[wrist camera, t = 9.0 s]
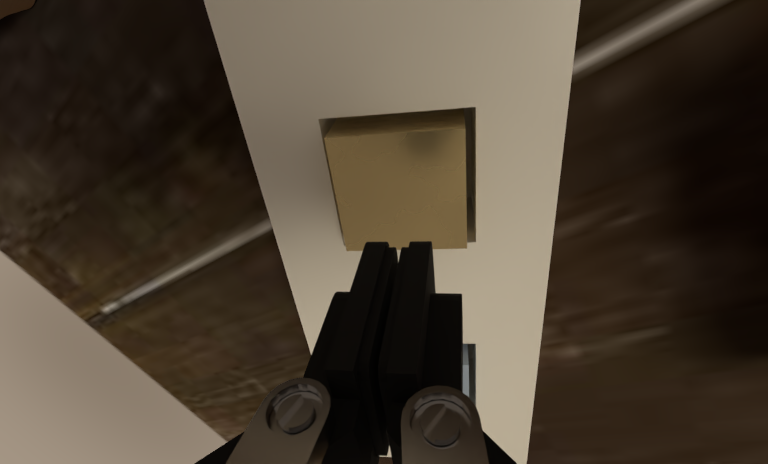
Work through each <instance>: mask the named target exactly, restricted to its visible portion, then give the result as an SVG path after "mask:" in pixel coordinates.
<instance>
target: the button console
mask: <svg viewBox="0 0 768 464" xmlns="http://www.w3.org/2000/svg"><path fill="white" fill-rule="evenodd" d="M580 1H581V0H204V3H205V7H206V10H207V13H208V17H209V20H210V23H211V26H212V30H213V33H214V36H215V40H216V43H217V46H218V49H219V53H220V56H221V59H222V63H223V66H224V69H225V73H226V76H227V79H228V82H229V86H230V89H231V92H232V96H233V99H234V102H235V105H236V109H237V112H238V115H239V119H240V122H241V125H242V129H243V132H244V135H245V138H246V142H247V145H248V148H249V152H250V155H251V158H252V161H253V165H254V168H255V171H256V175H257V178H258V181H259V185H260V188H261V191H262V194H263V198H264V201H265V204H266V208H267V211H268V214H269V217H270V221H271V224H272V227H273V231H274V234H275V237H276V241H277V244H278V247H279V250H280V254H281V257H282V260H283V264H284V267H285V270H286V274H287V277H288V280H289V283H290V287H291V290H292V293H293V297H294V300H295V303H296V306H297V310H298V313H299V316H300V320H301V323H302V326H303V330H304V333H305V336H306V339H307V343H308V346H309V349H310V353H311V355H312V352H313V350H314V347H315V344H316V341H317V339H318V336H319V333H320V330H321V328H322V325H323V322H324V319H325V317H326V314H327V311H328V308H329V306H330V303H331V300H332V298H333V296H334V294H335V293H336V292H350V289H351V286H352V283H353V280H354V277H355V274H356V271H357V267H358V264H359V261H360V258H361V255H362V252H363V251H346V246H345V241H344V235H343V230H342V225H341V220H340V215H339V210H338V205H337V200H336V195H335V190H334V185H333V180H332V175H331V170H330V165H329V160H328V155H327V150H326V145H325V140H324V138H325V136H326V135H327V133H328V131H329V130H330V128H331V127H332V125H333V124H334V122H335V121H336V119H337V118H339V117H352V116H365V115H378V114H391V113H404V112H417V111H430V110H444V109H457V108H464V118H465V128H466V200H467V249H433V262H434V277H435V291H436V293H455V294H462V312H463V344H468V361H469V398H470V399H471V401H472V402H473V403H474V404H475V406H476V408H477V411H478V413H479V416H480V421H481V426H482V430H483V431H484V432H485V433H486V434H487V435H488V436H489V437H490V438H491V439H492V440H493V441H494V442H495V443H496V444H497V445H498V446H499V447H500V448H501V449H502V450H504V451H505V452H506V453H507V454H508V455H509V456H510V457H511V458H512V459H513V460H514V461H515V462H516V463H517V464H526V463H527V455H528V446H529V437H530V429H531V420H532V412H533V403H534V395H535V386H536V378H537V369H538V361H539V352H540V343H541V335H542V326H543V318H544V309H545V301H546V292H547V284H548V275H549V266H550V258H551V249H552V241H553V232H554V224H555V215H556V207H557V198H558V190H559V181H560V172H561V164H562V155H563V147H564V138H565V130H566V121H567V113H568V104H569V95H570V87H571V78H572V70H573V61H574V53H575V44H576V36H577V27H578V19H579V10H580ZM400 252H401V250H397V256H398V262H399V257H400ZM380 456H381V455H380ZM382 457H392V455H391V451H390V446H389V450H388V454H387V456H382Z"/></svg>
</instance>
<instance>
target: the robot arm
mask: <svg viewBox="0 0 768 464" xmlns="http://www.w3.org/2000/svg"><path fill="white" fill-rule="evenodd" d="M389 446H390V451H391V455H392V460H393V464H517V463H516V462H515V461H514V460H513V459H512V458H511V457H510V456H509V455H508V454H507V453H506V452H505V451H504V450H502V449H501V448H500V447H499V446H498V445H497V444H496V443H495V442H494V441H493V440H492V439H491V438H490V437H489V436H488V435H487V434H486V433H485V432H484V431H483V430H482V426H481V421H480V416H479V413H478V411H477V408H476V406H475V404H474V403H473V402H472V401H471V399H470V398H469V397H468V396H467V395H465V394H464V393H463V312H462V294H455V293H436V291H435V277H434V262H433V248H432V242H431V241H410V243H409V247H402V248H401V252H400V257H399V262H398V256H397V249H396V247H389V243H388V242H366V243H365V246H364V249H363V252H362V255H361V258H360V261H359V264H358V267H357V271H356V274H355V277H354V280H353V283H352V286H351V289H350V292H336V293H335V294H334V296H333V298H332V300H331V303H330V306H329V308H328V311H327V314H326V317H325V319H324V322H323V325H322V328H321V330H320V333H319V336H318V339H317V341H316V344H315V347H314V350H313V352H312V355H311V358H310V360H309V363H308V366H307V369H306V371H305V374H304V377H303V378H296V379H292V380H288V381H286V382H284V383H282V384H280V385H278V386H277V387H276V388H275V389H273V390H272V391H271V392H270V393H269V394H268V395H267V396H266V398H265V399H264V400H263V402H262V403H261V405H260V407H259V408H258V410H257V412H256V413H255V415H254V417H253V418H252V420H251V422H250V423H249V425H248V427H247V428H246V430H245V431H244V432H243V433H241V434H240V435H238V436H237V437H235V438H234V439H232V440H230V441H229V442H227V443H226V444H225V445H223V446H221V447H220V448H218V449H217V450H215V451H213V452H212V453H210V454H209V455H207V456H206V457H204V458H203V459H201V460H199V461H198V462H196V463H195V464H378V462H379V456H380V455H381V456H387V454H388V450H389Z"/></svg>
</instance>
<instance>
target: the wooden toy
mask: <svg viewBox="0 0 768 464" xmlns="http://www.w3.org/2000/svg"><path fill="white" fill-rule="evenodd" d="M35 1H36V0H0V19H2V18H4V17H5V16H7V15H9V14H13V13H16V12H20V11H23V10H27V9H29V8H31V7H32V6H33V5H34V3H35Z"/></svg>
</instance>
